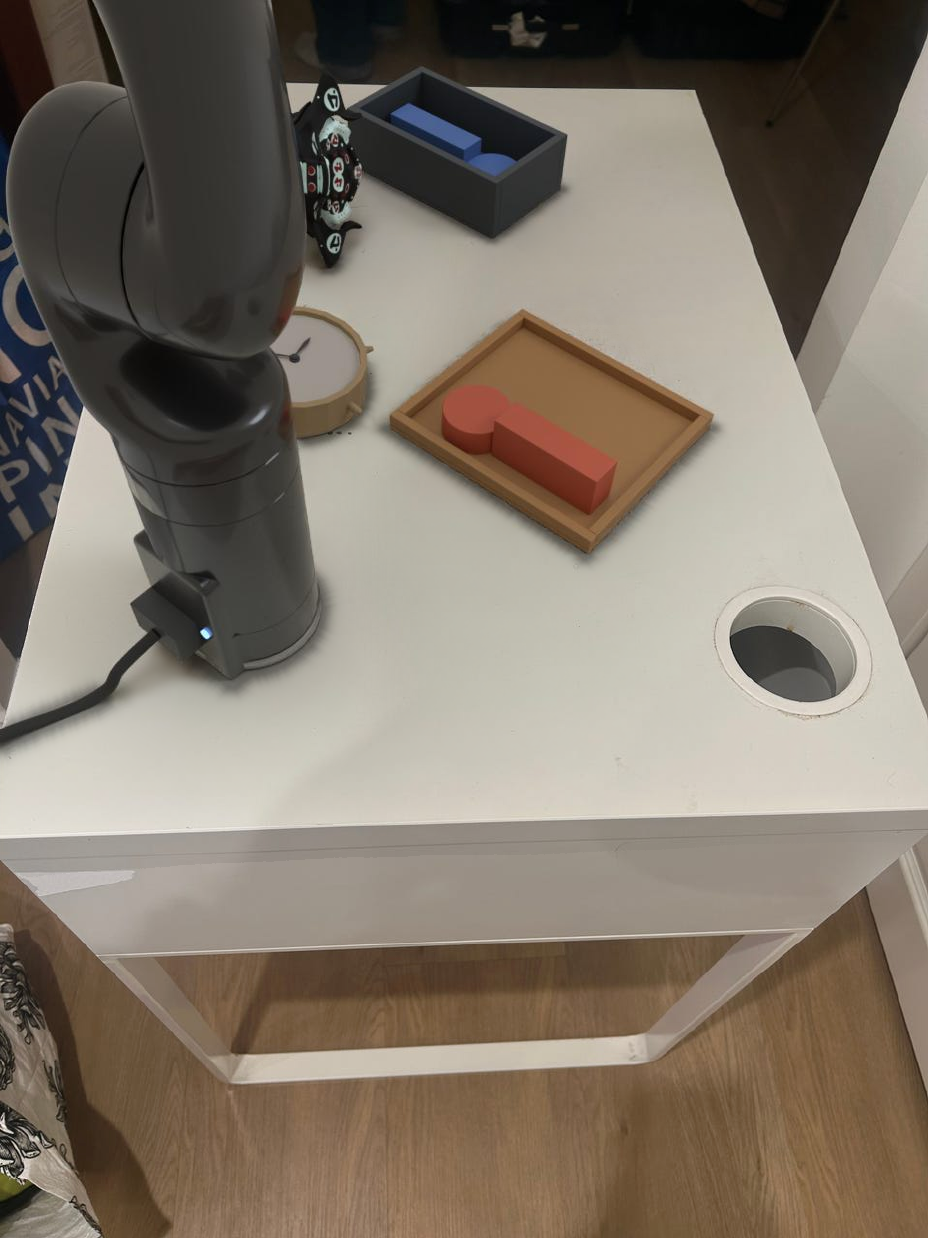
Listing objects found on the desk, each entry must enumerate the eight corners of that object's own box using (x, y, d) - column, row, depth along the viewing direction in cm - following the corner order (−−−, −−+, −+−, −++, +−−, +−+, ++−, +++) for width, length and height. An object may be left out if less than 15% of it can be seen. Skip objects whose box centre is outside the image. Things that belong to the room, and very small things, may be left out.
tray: (587, 554, 68) (590, 541, 67) (389, 427, 74) (389, 414, 73) (709, 427, 76) (714, 413, 75) (520, 321, 82) (522, 308, 81)
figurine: (197, 260, 85) (322, 280, 79) (181, 62, 78) (318, 69, 72) (273, 247, 93) (392, 265, 88) (265, 67, 86) (395, 74, 80)
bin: (492, 238, 88) (496, 183, 84) (349, 163, 94) (346, 107, 90) (560, 188, 93) (568, 134, 89) (421, 120, 99) (421, 65, 94)
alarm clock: (362, 417, 71) (152, 374, 69) (354, 463, 75) (154, 423, 73) (379, 317, 77) (187, 274, 75) (370, 363, 81) (188, 324, 79)
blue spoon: (417, 133, 97) (417, 97, 94) (530, 189, 92) (534, 153, 89) (382, 155, 94) (381, 118, 91) (496, 213, 90) (499, 177, 87)
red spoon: (578, 526, 69) (585, 492, 66) (427, 431, 74) (428, 396, 71) (619, 485, 72) (628, 450, 69) (470, 395, 76) (472, 359, 73)
